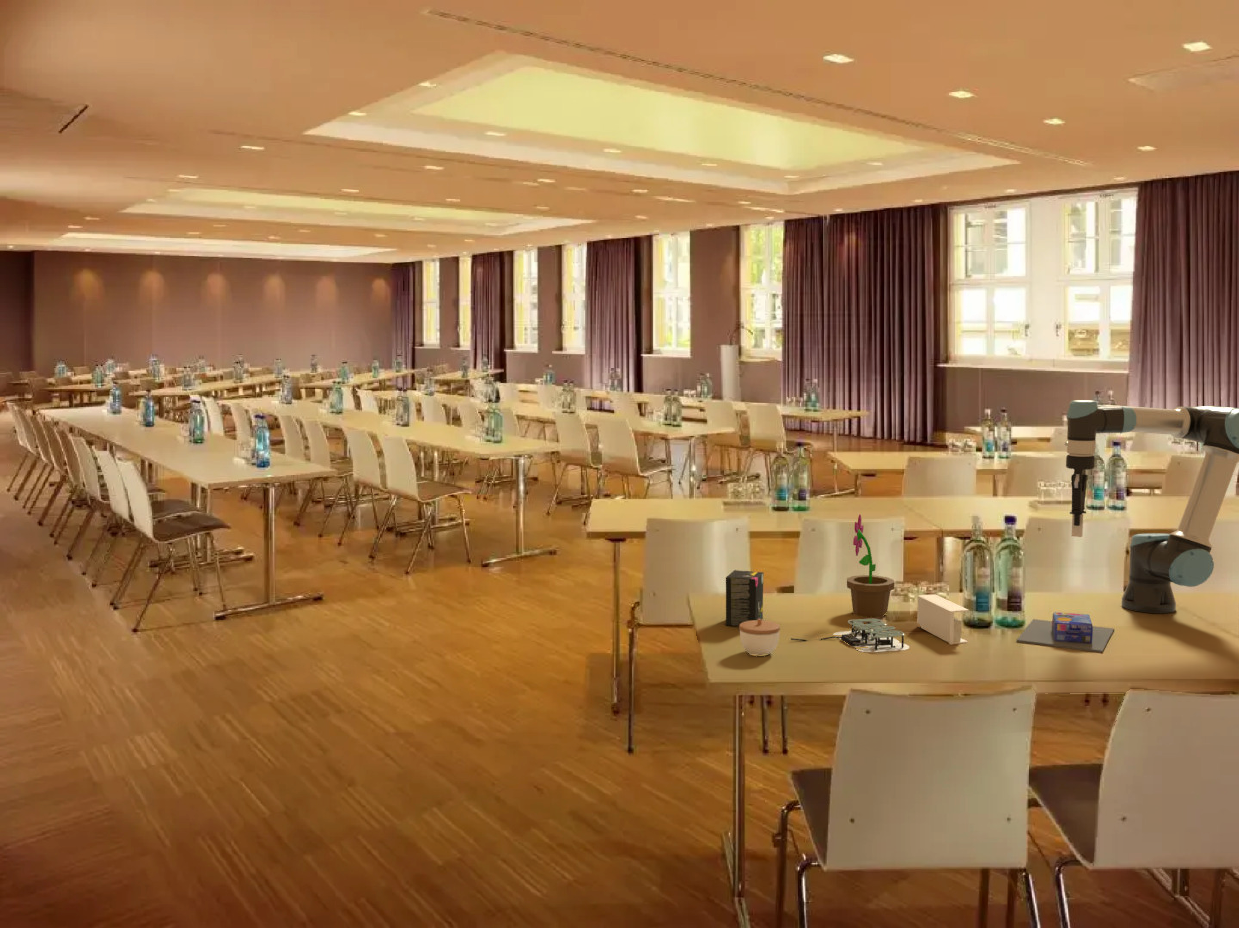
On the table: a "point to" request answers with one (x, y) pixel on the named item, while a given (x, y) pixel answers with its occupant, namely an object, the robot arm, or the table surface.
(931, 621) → the cigarette display
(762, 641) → the lidded jar
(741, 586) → the tampon box
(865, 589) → the flowerpot
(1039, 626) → the mat
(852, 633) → the neon sign
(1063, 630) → the ink cartridge box
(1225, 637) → the table surface
